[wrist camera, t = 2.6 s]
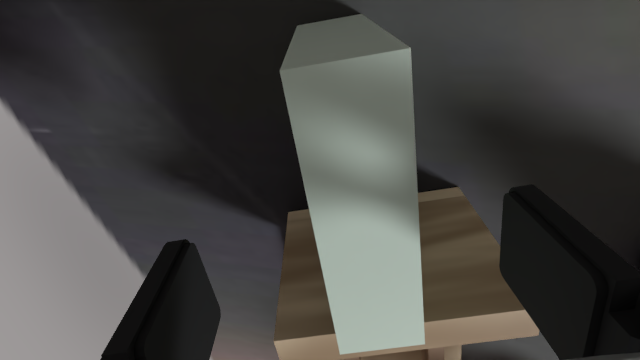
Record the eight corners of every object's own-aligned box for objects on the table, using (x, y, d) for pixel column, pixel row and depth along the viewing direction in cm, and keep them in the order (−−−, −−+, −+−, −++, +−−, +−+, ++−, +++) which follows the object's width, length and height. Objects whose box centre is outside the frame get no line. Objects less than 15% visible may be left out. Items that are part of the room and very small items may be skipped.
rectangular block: (286, 27, 17) (258, 74, 9) (361, 13, 17) (410, 47, 8) (321, 206, 22) (326, 356, 13) (380, 197, 22) (424, 344, 13)
